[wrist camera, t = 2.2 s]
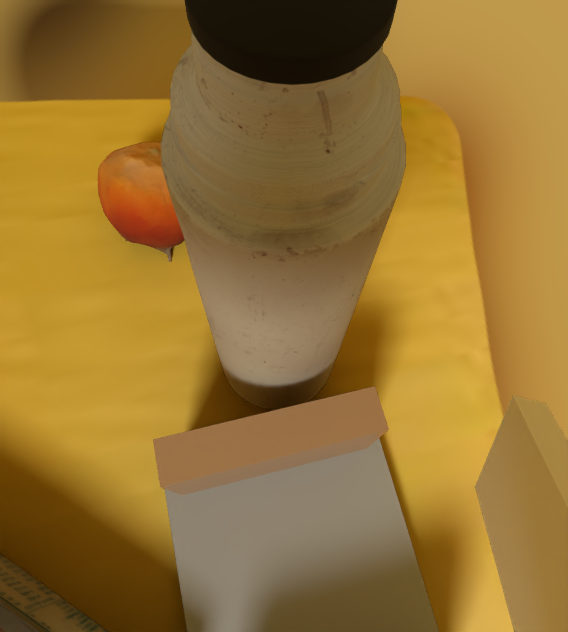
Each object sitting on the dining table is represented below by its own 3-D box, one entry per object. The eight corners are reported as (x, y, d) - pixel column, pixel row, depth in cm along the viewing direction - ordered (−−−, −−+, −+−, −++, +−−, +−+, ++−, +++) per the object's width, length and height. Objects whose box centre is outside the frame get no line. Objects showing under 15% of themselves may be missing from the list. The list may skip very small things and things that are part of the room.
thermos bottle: (213, 314, 39) (94, -122, 13) (318, 294, 40) (408, -154, 14) (231, 420, 36) (126, 137, 10) (345, 397, 37) (522, 78, 11)
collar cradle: (163, 462, 35) (133, 444, 27) (367, 412, 36) (392, 381, 29) (213, 777, 29) (192, 866, 21) (455, 701, 30) (517, 759, 23)
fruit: (79, 260, 39) (70, 154, 34) (129, 215, 45) (127, 120, 40) (184, 289, 38) (190, 185, 33) (219, 238, 44) (229, 145, 39)
